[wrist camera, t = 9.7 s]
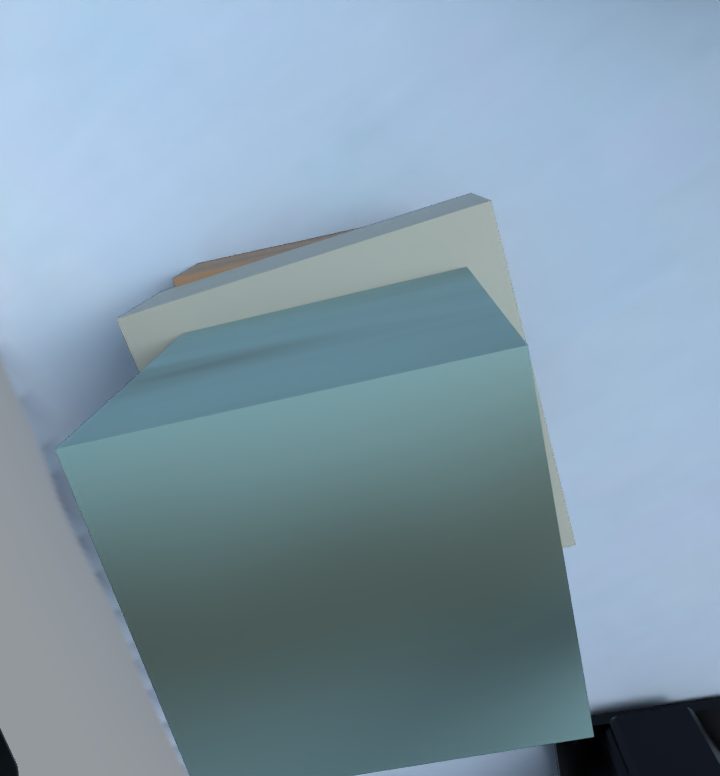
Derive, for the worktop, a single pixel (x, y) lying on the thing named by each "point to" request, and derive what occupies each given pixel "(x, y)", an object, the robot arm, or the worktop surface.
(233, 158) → the worktop surface
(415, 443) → the teal cube
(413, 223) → the tower top
